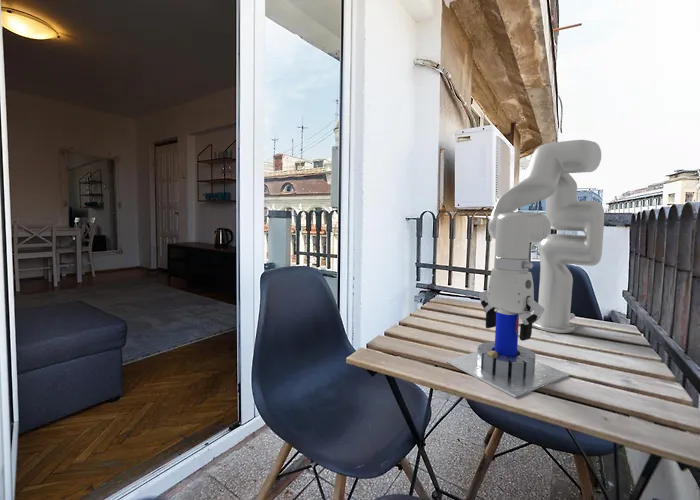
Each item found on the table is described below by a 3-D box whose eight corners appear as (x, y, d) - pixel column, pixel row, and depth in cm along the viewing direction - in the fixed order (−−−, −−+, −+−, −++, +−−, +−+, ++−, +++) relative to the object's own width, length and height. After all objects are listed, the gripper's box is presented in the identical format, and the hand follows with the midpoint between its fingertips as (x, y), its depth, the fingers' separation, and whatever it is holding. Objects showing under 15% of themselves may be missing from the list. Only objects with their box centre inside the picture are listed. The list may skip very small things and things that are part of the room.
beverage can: (518, 371, 86) (522, 311, 84) (496, 370, 87) (498, 310, 85) (513, 362, 91) (516, 305, 89) (492, 361, 92) (494, 304, 90)
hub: (497, 347, 103) (498, 329, 102) (568, 376, 85) (570, 354, 85) (446, 362, 93) (447, 342, 92) (515, 397, 75) (516, 373, 75)
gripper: (555, 268, 80) (550, 341, 82) (491, 259, 95) (488, 321, 97) (535, 271, 77) (530, 347, 79) (471, 261, 92) (468, 325, 94)
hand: (507, 333), depth 88 cm, fingers open, 9 cm apart
